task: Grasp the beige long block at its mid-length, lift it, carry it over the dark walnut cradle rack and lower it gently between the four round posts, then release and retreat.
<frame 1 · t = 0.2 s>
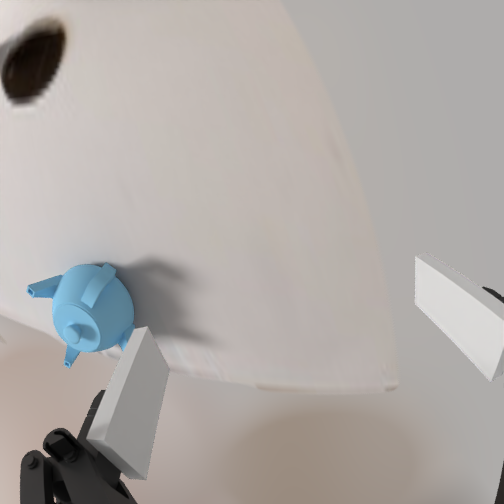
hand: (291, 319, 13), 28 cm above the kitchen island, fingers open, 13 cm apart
teapot: (98, 300, 43), on the kitchen island
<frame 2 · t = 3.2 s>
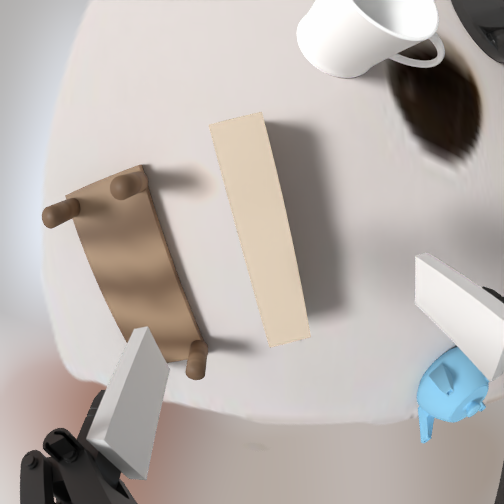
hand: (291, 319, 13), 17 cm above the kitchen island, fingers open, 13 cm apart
teapot: (443, 372, 39), on the kitchen island
mug: (350, 50, 23), on the kitchen island
beige long block: (260, 225, 29), on the kitchen island
rack: (137, 277, 29), on the kitchen island
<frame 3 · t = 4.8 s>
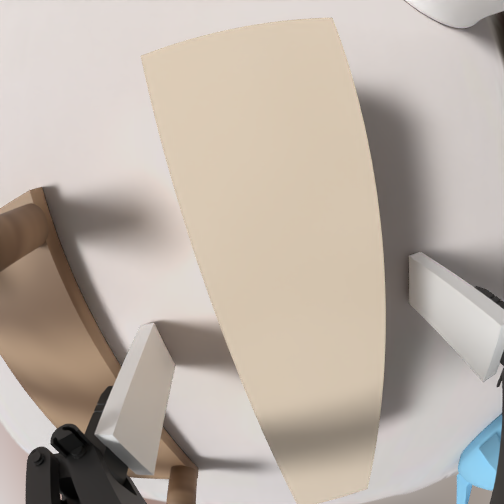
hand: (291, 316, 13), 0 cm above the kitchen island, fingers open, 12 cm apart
teapot: (488, 433, 24), on the kitchen island
beige long block: (290, 310, 13), on the kitchen island
rack: (72, 382, 14), on the kitchen island
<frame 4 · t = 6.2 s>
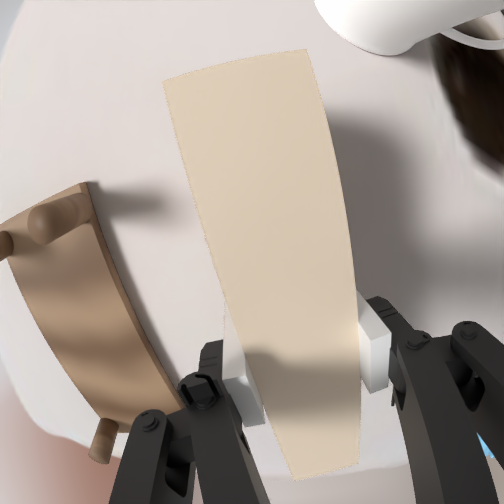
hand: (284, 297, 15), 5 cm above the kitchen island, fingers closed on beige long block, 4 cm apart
mug: (385, 20, 14), on the kitchen island
beige long block: (282, 292, 15), point 4 cm above the kitchen island, touching gripper
rack: (94, 336, 20), on the kitchen island
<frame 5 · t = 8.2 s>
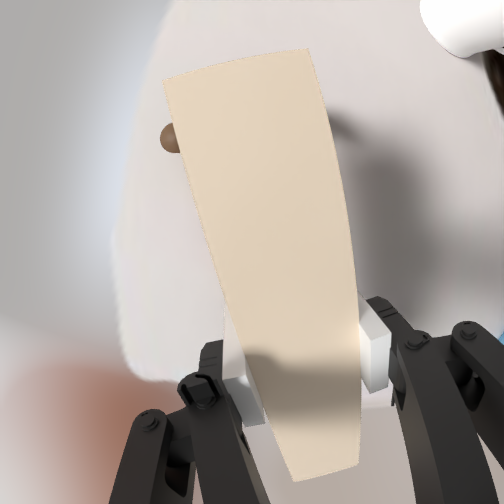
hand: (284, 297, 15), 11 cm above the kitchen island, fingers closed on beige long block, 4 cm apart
mug: (457, 34, 18), on the kitchen island
beige long block: (282, 293, 15), point 10 cm above the kitchen island, touching gripper
rack: (264, 236, 25), on the kitchen island
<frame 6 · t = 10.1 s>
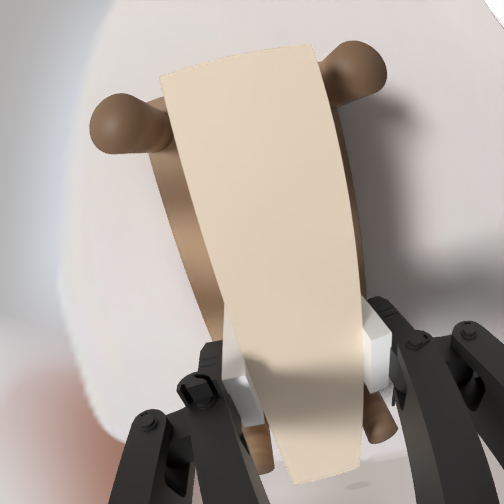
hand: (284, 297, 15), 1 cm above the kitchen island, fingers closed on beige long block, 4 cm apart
beige long block: (283, 294, 15), point 1 cm above the kitchen island, touching gripper, rack
rack: (281, 285, 16), on the kitchen island
when the fingers open (1 cm above the kitchen island, at t = 10.5 s): beige long block stays where it is, resting on rack.
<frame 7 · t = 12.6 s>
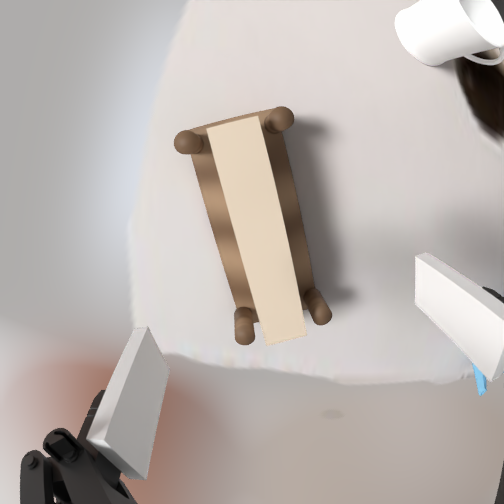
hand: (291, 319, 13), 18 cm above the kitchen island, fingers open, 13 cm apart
teapot: (489, 330, 40), on the kitchen island
mug: (430, 45, 24), on the kitchen island
beige long block: (257, 226, 29), point 1 cm above the kitchen island, touching rack
rack: (256, 223, 30), on the kitchen island
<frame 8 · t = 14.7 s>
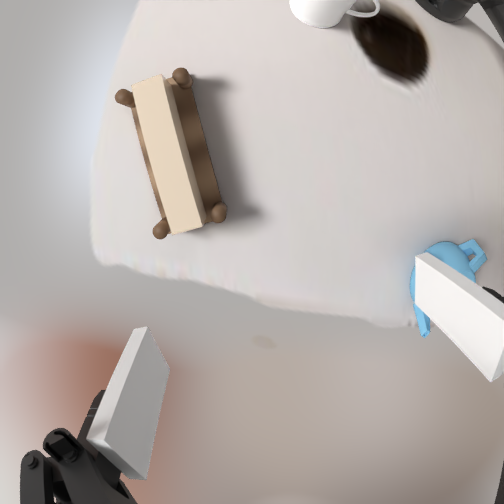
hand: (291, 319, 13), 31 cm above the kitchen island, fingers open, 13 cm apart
teapot: (432, 273, 48), on the kitchen island
mug: (325, 12, 32), on the kitchen island
beige long block: (174, 153, 38), point 1 cm above the kitchen island, touching rack
rack: (175, 152, 39), on the kitchen island
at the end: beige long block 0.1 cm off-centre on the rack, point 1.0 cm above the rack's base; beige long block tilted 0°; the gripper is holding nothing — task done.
